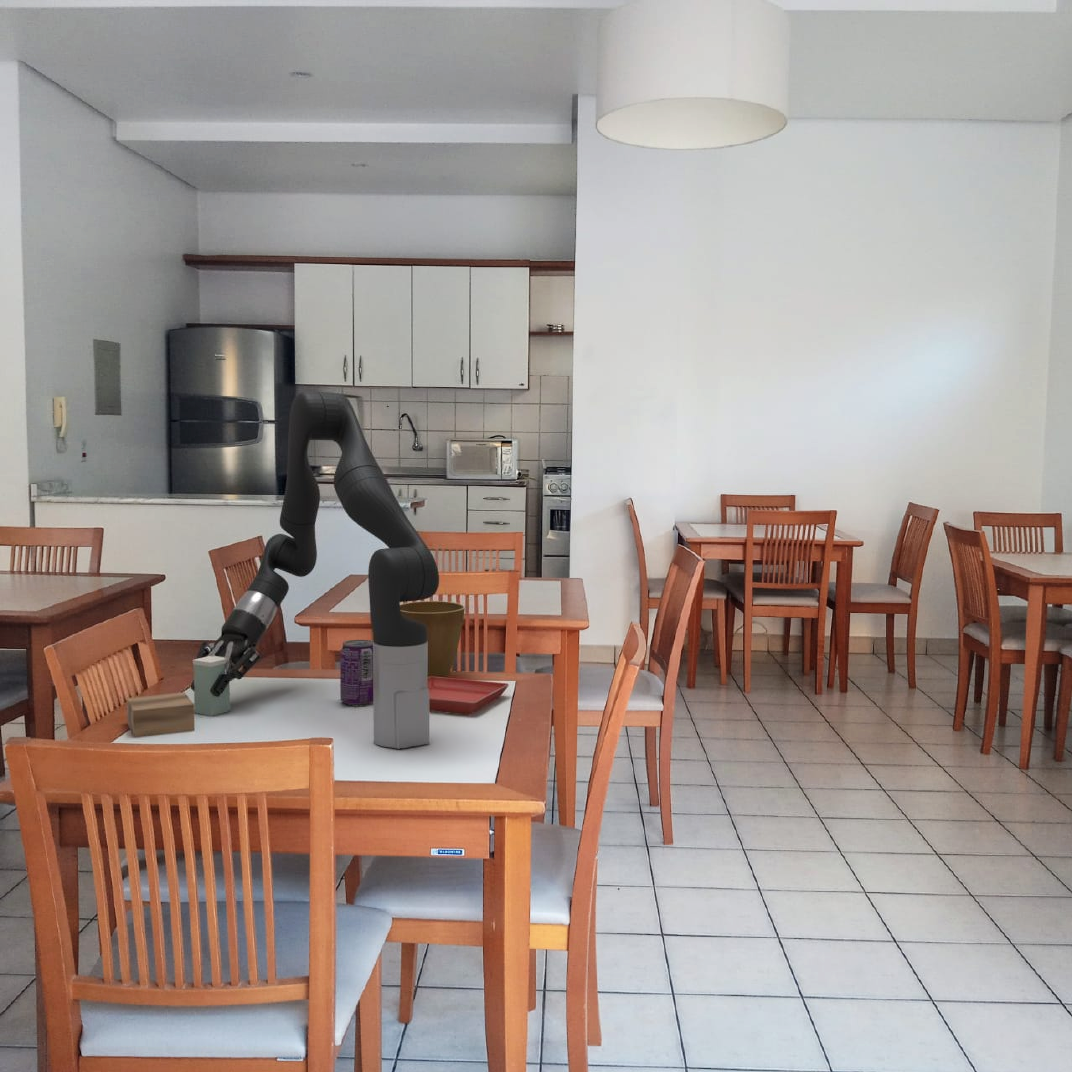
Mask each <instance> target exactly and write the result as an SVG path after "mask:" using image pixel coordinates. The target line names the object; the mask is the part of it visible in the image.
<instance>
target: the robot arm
mask: <svg viewBox="0 0 1072 1072" xmlns="http://www.w3.org/2000/svg"><path fill="white" fill-rule="evenodd" d="M289 412H290V413H289V423H288V424H289V425H288V440H287V441H288V443H287V468H286V469H287V473H286V483H285V491H284V497H283V501H282V505H281V511H280V517H279V526H280V528H281V529H282V530H283V531H284V532H286V533H287V534H288V535H286V534H285V533H277V534H274V535H272V536H271V537H270V538H269V539H268V540H267V542H266V543H265V547H264V550H263V554H262V558H261V561H260V565H259V567H258V570H257V572H256V575H255V577H254V579H253V581H252V582H251V584H250V585H249V586H248V588H247V590H246V591H245V593H244V594H243V595H242V596H241V598H239V600H238V601H237V603H236V604H235V606H234V608H233V609H232V611H231V612H230V614H229V615H228V617H227V619H226V620H225V622H224V623H223V624H222V626H221V631H220V632H221V635H220V636H219V637H218V638H217V639H216V640H215V641H214V642H212V643H208V642H207V641H206V640H205V641H203V642H202V643H201V645H200V647H199V650H198V653H197V655H196V657H195V659H199V658H203V657H208V656H211V657H213V656H218V657H225V659H227V660H226V663H225V666H224V668H223V670H222V675H221V674H220V675H219V676H218V678H217V680H216V681H215V683H214V684H213V686H212V688H211V689H210V692H211V693H212V694H213V695H214V696H216V697H219V696H220V694H222V693H223V691H224V689H225V688H226V686H227V685H228V683H229V684H230V682H232V681H233V680H235V679H237V680H241V679H242V678H243V677H244V676H245V675H246V674H247V673H248V672H249V671H250V669H252V667H254V665H255V664H256V663H257V662H258V661H259V659H260V658H261V655H260V654H259V653H258V651H257V650H256V649H255V648H256V647H257V646H258V644H259V643H260V641H261V639H262V637H263V636H264V635H265V633H266V631H267V630H268V628H269V627H270V625H271V622H272V621H273V619H274V617H275V615H276V613H277V611H278V609H279V608H280V606H281V604H282V602H283V601H284V600H285V598H286V596H287V595H288V593H289V590H290V585H289V583H288V581H287V580H286V579H285V578H284V577H283V576H282V575H280V574H279V573H278V572H276V571H275V570H276V569H277V570H280V571H282V572H285V573H287V574H291V575H293V576H295V577H298V578H299V577H300V578H304V577H306V576H308V575H310V574H311V572H312V571H313V570H314V568H315V566H316V564H317V559H318V558H317V557H318V553H317V551H318V550H317V541H316V540H317V539H316V521H317V517H318V511H319V507H320V502H321V491H320V486H319V484H318V481H317V478H316V475H315V474H314V471H313V470H312V467H311V465H310V461H309V458H308V450H309V449H308V447H309V444H310V441H333V442H334V443H336V444H337V445H338V447H339V448H340V451H341V456H340V458H339V460H338V462H337V465H336V468H335V471H334V474H333V487H334V492H335V493H336V495H337V498H338V500H339V503H340V504H341V506H342V508H343V509H344V512H345V513H346V514H347V516H348V517H349V519H351V520H352V521H353V522H354V523H355V524H357V525H358V526H360V527H361V528H362V529H364V530H365V531H366V532H368V533H370V534H371V535H372V536H374V537H375V538H377V539H379V540H380V541H381V542H382V543H384V544H385V546H387V548H379V549H376V550H375V551H374V553H372V555H371V557H370V560H369V562H368V571H367V577H368V595H369V613H370V615H369V616H370V625H371V630H372V641H373V702H372V703H373V707H372V708H373V711H372V712H373V714H372V715H373V716H372V717H373V718H372V719H373V743H374V744H375V745H378V746H381V747H384V748H385V747H386V748H393V749H396V748H402V749H406V748H408V749H409V748H412V746H413V747H418V746H422V745H427V744H428V745H429V744H430V711H429V689H428V630H427V626H426V625H425V624H423V623H421V622H418V621H414V620H411V619H408V618H406V617H404V616H403V615H402V614H401V610H400V604H401V603H409V602H418V601H424V600H427V599H430V598H433V596H434V595H435V594H436V592H437V591H438V588H439V586H440V574H439V568H438V564H437V562H436V560H435V558H434V555H433V554H432V552H431V550H430V549H429V547H428V546H427V544H426V543H425V541H424V540H423V539H422V537H421V536H420V535H419V532H417V530H416V529H415V526H413V524H412V523H411V521H410V520H409V518H408V517H407V514H406V513H405V512H404V509H403V507H402V506H401V505H400V503H399V501H398V499H397V497H396V496H395V493H394V491H393V489H392V487H391V485H390V483H389V481H388V479H387V478H386V476H385V474H384V472H383V470H382V469H381V467H380V465H379V464H378V462H377V460H376V458H375V456H374V454H373V452H372V450H371V448H370V446H369V444H368V442H367V440H366V438H365V435H364V433H363V430H362V428H361V424H360V423H359V420H358V417H357V415H356V413H355V410H354V408H353V405H352V403H351V402H350V399H348V398H347V397H346V396H345V395H344V394H342V393H338V392H330V391H329V392H328V391H312V390H311V391H309V390H308V391H306V390H305V391H300V392H298V393H297V394H296V395H295V397H294V398H293V400H292V404H291V408H290V411H289ZM190 689H191V690H192V691H193V692H194V679H193V680H192V682H191V684H190Z"/></svg>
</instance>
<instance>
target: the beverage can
mask: <svg viewBox="0 0 1072 1072" xmlns="http://www.w3.org/2000/svg"><path fill="white" fill-rule="evenodd" d="M339 652H340V654H339V657H340V658H339V659H340V662H339V663H340V664H339V667H340V668H339V669H340V670H339V671H340V676H339V677H340V678H339V679H340V680H339V681H340V684H339V686H340V693H339V694H340V701H341V702H343V703H345V704H346V705H348V706H352V705H355V706H356V705H357V706H358V707H361V706H360V705H362V706H368V705H371V704H372V703H373V640H369V639H351V640H345V641H343V642H342V647H341V649H340V651H339ZM370 703H371V704H370ZM367 704H368V705H367Z"/></svg>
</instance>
